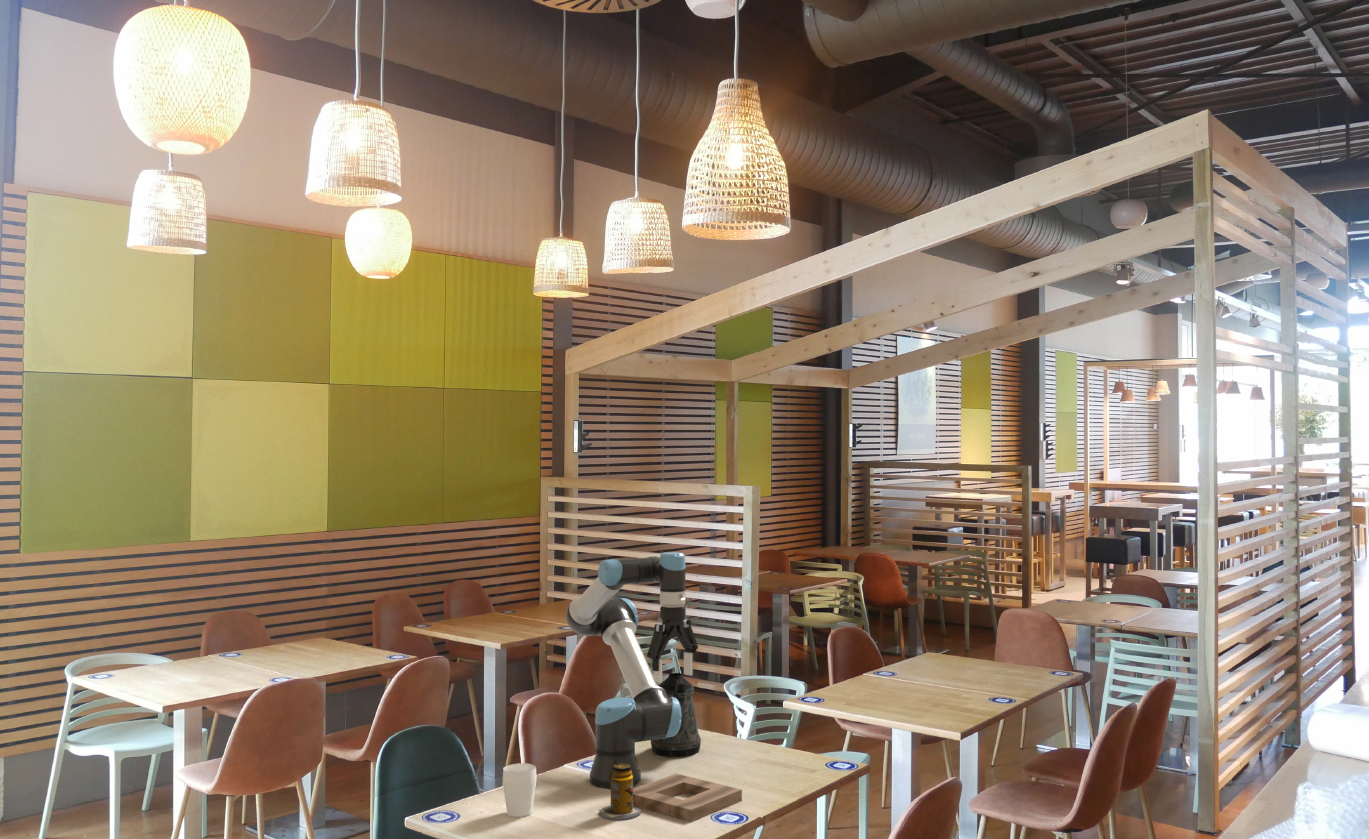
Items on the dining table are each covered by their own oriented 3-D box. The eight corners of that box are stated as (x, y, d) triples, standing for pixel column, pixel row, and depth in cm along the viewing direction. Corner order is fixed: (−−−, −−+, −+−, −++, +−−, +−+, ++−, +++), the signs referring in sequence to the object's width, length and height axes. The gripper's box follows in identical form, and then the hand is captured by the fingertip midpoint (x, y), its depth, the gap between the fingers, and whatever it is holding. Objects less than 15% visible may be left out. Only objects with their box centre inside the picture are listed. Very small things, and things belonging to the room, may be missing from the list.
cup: (521, 805, 281) (521, 761, 281) (543, 812, 275) (543, 766, 276) (495, 814, 274) (495, 768, 275) (518, 821, 268) (518, 774, 269)
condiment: (639, 812, 273) (639, 766, 274) (611, 818, 268) (611, 771, 269) (625, 804, 279) (625, 760, 280) (598, 810, 274) (598, 765, 275)
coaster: (590, 814, 273) (590, 811, 273) (619, 803, 282) (619, 801, 282) (620, 822, 266) (620, 820, 266) (649, 812, 275) (649, 809, 275)
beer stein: (680, 741, 347) (679, 666, 348) (717, 753, 332) (716, 675, 333) (640, 749, 337) (640, 672, 338) (676, 762, 321) (676, 682, 323)
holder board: (624, 802, 283) (624, 791, 283) (676, 783, 299) (676, 773, 300) (691, 821, 267) (691, 809, 267) (741, 800, 284) (741, 789, 284)
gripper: (654, 610, 289) (654, 686, 288) (709, 602, 308) (709, 673, 307) (634, 608, 294) (634, 683, 293) (690, 600, 313) (690, 670, 312)
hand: (673, 678), depth 300 cm, fingers open, 13 cm apart
